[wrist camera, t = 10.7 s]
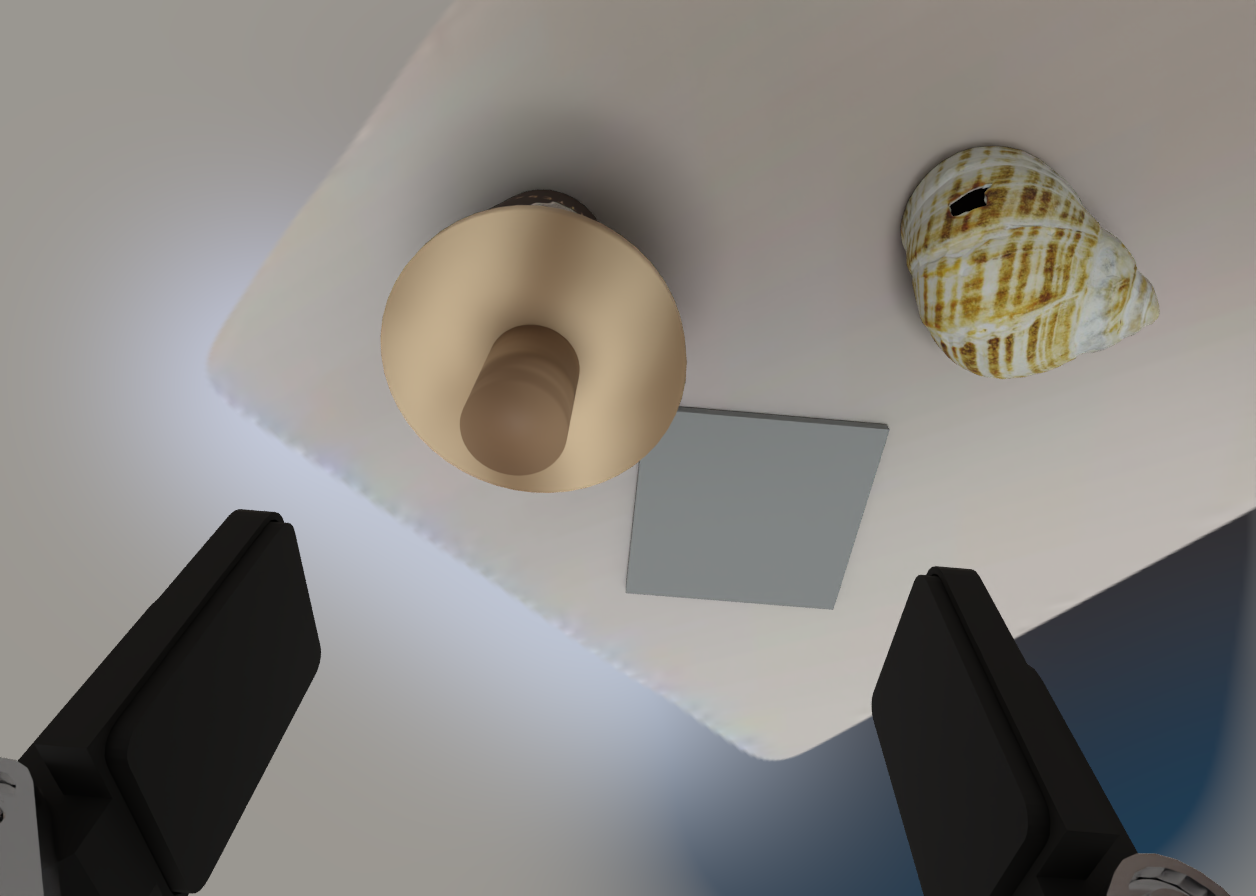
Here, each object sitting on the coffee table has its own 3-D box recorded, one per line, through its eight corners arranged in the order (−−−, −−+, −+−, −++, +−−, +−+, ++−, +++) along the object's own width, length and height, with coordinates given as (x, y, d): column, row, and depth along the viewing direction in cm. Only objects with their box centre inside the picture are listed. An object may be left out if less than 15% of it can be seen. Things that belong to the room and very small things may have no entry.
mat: (886, 424, 42) (889, 429, 41) (831, 603, 49) (833, 609, 49) (645, 403, 42) (645, 408, 41) (625, 586, 49) (625, 593, 48)
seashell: (898, 133, 33) (1103, 172, 26) (1034, 146, 37) (1245, 183, 30) (842, 342, 38) (1001, 427, 30) (968, 332, 42) (1136, 405, 35)
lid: (704, 219, 26) (717, 270, 21) (668, 490, 33) (672, 580, 27) (373, 191, 26) (306, 235, 21) (401, 468, 32) (354, 555, 27)
